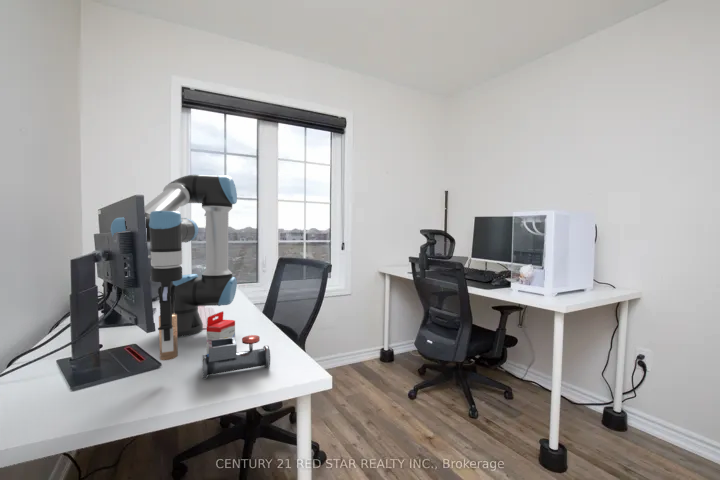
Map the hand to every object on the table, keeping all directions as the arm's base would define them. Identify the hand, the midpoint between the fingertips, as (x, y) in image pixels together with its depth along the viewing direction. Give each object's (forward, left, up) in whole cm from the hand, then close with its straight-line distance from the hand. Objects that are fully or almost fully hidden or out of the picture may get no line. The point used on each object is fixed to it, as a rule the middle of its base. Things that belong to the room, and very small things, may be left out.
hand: (168, 347), depth 91 cm
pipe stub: (0, 0, -3) cm, 3 cm away
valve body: (+4, +18, -9) cm, 20 cm away
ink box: (-9, +14, -9) cm, 19 cm away
